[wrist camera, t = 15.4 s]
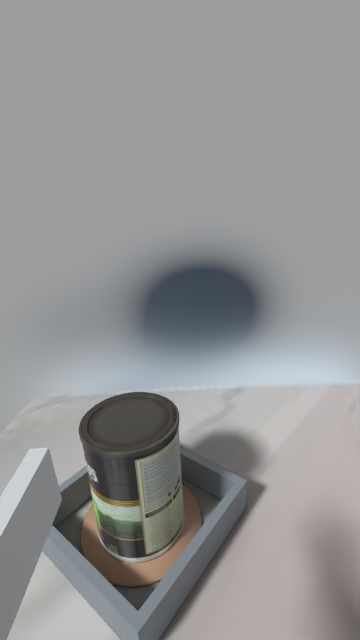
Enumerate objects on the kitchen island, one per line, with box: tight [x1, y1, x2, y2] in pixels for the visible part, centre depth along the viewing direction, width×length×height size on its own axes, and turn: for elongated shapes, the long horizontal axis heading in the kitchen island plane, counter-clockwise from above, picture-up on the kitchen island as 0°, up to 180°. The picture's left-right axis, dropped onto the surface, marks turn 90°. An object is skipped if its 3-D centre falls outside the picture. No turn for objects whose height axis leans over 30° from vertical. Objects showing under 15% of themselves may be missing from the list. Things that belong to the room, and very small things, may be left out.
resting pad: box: [81, 483, 201, 587], centre depth 38 cm, size 14×14×1 cm
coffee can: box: [79, 392, 185, 563], centre depth 35 cm, size 10×10×14 cm
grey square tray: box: [42, 447, 247, 640], centre depth 37 cm, size 18×18×4 cm
